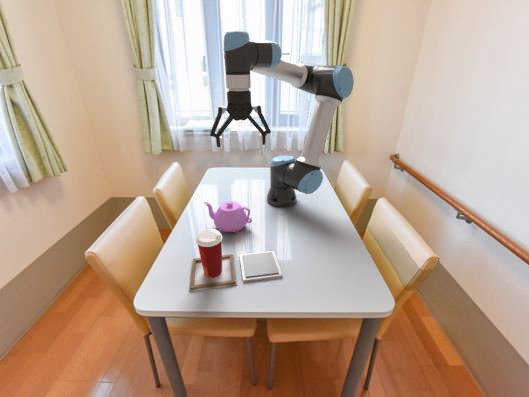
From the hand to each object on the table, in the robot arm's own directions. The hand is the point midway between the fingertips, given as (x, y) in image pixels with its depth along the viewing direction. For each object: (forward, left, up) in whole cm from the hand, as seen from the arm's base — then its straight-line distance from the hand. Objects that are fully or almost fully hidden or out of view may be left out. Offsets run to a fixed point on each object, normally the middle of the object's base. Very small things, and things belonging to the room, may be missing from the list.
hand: (241, 155), depth 93 cm
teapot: (+6, -8, -35) cm, 36 cm away
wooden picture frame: (+13, +19, -35) cm, 41 cm away
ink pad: (-3, +19, -35) cm, 39 cm away
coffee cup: (+13, +19, -35) cm, 41 cm away
